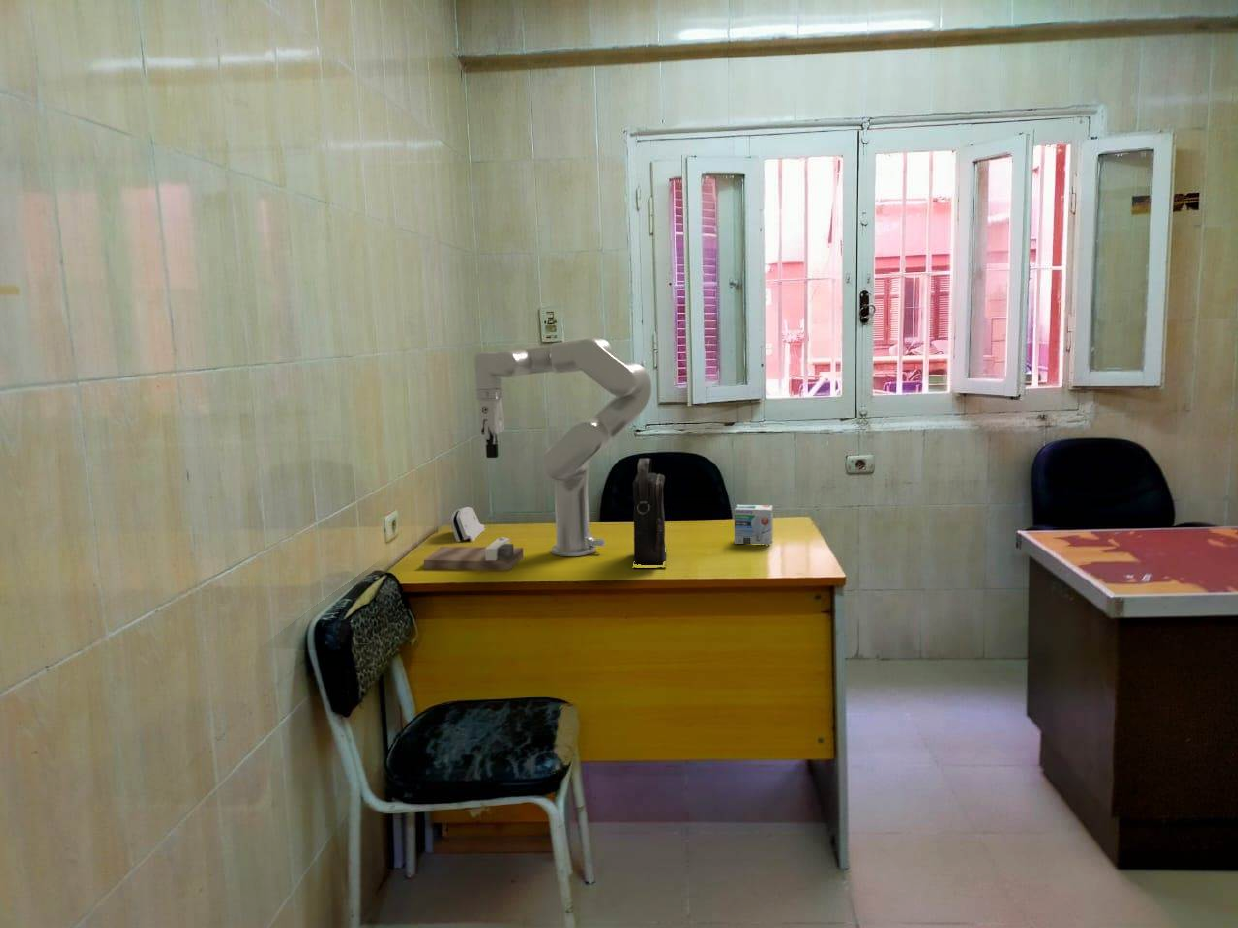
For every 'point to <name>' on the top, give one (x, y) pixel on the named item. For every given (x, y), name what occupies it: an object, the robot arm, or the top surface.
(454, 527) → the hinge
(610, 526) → the top surface
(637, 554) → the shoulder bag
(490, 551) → the folding leg
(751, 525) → the light bulb box
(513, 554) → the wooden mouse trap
